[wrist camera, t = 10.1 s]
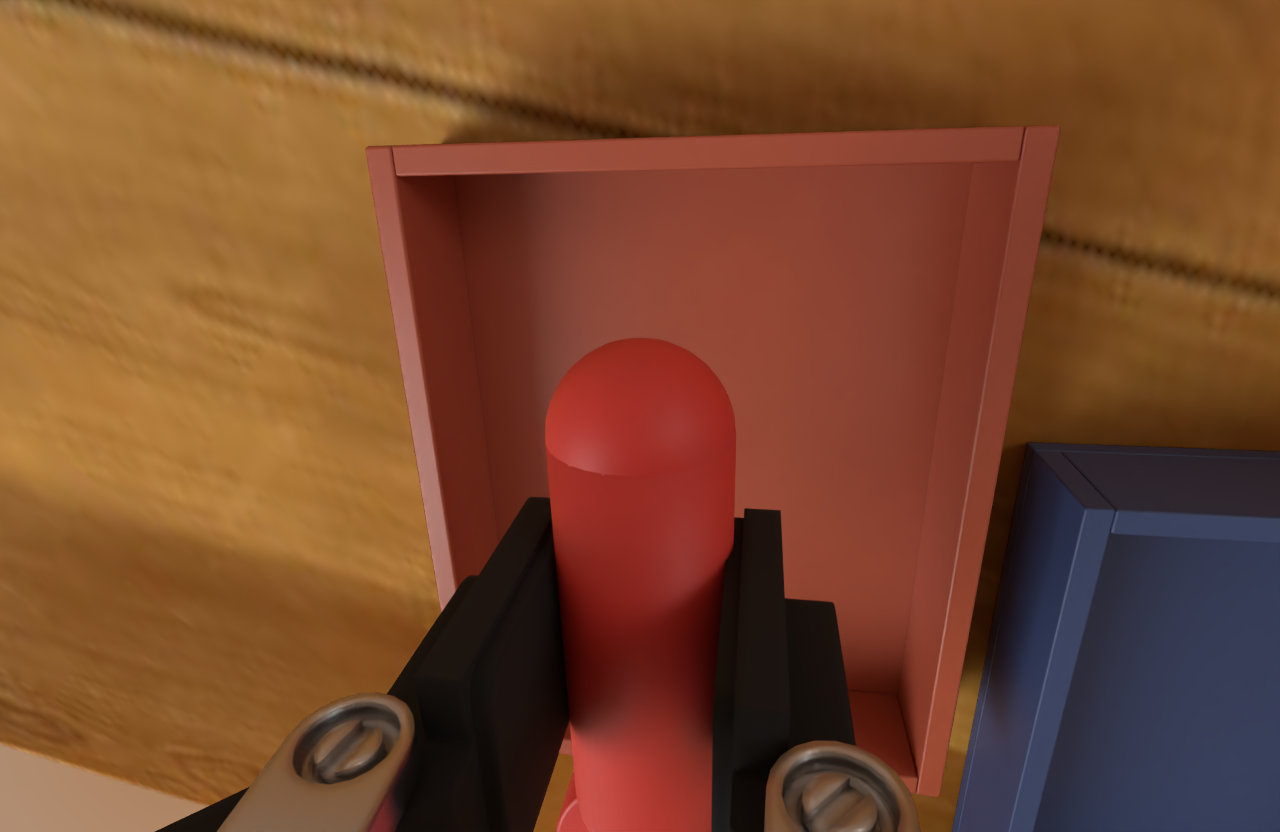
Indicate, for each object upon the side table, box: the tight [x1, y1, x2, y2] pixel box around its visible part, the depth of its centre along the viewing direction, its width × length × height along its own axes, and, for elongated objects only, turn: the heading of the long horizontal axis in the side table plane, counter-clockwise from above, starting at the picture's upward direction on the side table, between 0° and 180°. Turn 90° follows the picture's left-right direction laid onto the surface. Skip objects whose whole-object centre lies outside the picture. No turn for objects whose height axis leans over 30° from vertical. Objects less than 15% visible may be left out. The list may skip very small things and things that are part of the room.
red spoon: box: [545, 338, 736, 832], centre depth 10 cm, size 11×4×2 cm, turn 2°
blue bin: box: [952, 442, 1280, 832], centre depth 18 cm, size 13×16×4 cm
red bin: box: [366, 125, 1060, 797], centre depth 18 cm, size 13×16×4 cm
